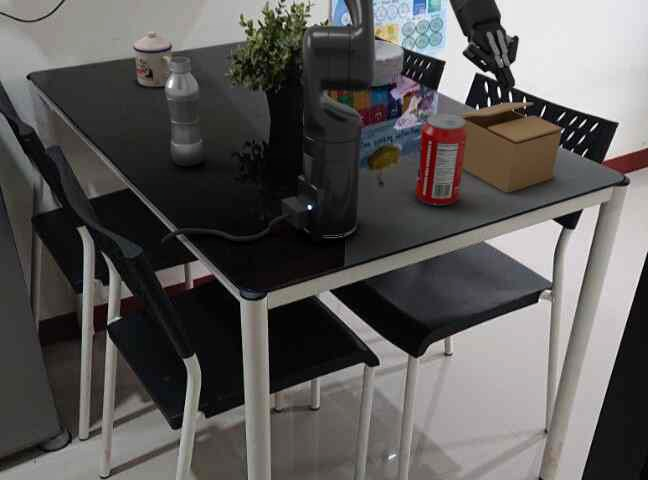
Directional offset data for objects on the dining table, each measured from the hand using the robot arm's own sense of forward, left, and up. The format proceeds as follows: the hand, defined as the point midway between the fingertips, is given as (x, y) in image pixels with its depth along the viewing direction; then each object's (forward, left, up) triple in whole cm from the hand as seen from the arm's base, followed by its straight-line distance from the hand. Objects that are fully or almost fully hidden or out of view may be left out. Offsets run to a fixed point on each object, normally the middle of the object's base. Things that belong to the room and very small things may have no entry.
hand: (509, 88), depth 145 cm
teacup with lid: (-37, +78, -16) cm, 88 cm away
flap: (0, +2, -5) cm, 5 cm away
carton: (0, -2, -16) cm, 16 cm away
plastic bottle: (-51, +33, -16) cm, 63 cm away
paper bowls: (+9, +54, -16) cm, 57 cm away
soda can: (-19, -4, -16) cm, 25 cm away
